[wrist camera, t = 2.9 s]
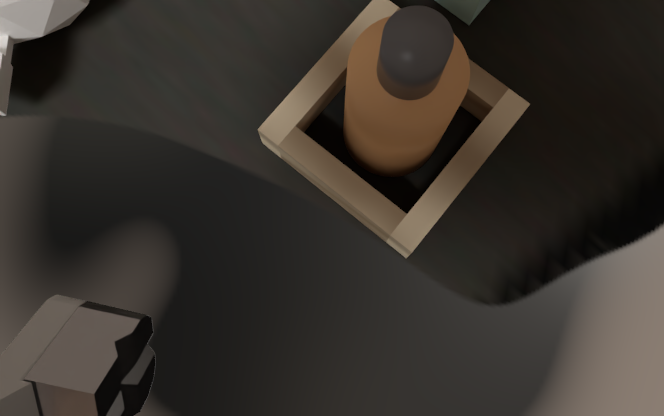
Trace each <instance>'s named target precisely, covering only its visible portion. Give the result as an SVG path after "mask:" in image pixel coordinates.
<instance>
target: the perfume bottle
mask: <svg viewBox="0 0 664 416" xmlns="http://www.w3.org/2000/svg"><path fill="white" fill-rule="evenodd" d="M89 1H90V0H0V115H4V116H6V113H7V106H8V99H9V92H10V85H11V78H12V71H13V66H12V65H11V58H12V51H13V44H16V43H20V42H24V41H28V40H31V39H35V38H39V37H43V36H45V35H47V34H50V33H52V32H54V31H57V30H59V29H61V28H64V27H66V26H69V25H70V24H71V23H72V22H73V21H74V20H75V19H76V18H77V16H78V15H79V14H80V13H81V12H82V11H83V10H84V9H85V8H86V6H87V5H88V3H89Z"/></svg>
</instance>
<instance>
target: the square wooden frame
mask: <svg viewBox="0 0 664 416" xmlns="http://www.w3.org/2000/svg"><path fill="white" fill-rule="evenodd" d="M400 9H401V8H399V7H398V6H397V5H395V4H394V3H392V2H391V1H390V0H372V1H371V2H370V3H369V5H368V6H367V7H366V8H365V9H364V10H363V11H362V12H361V14H360V15H359V16H358V17H357V18H356V19H355V20H354V21H353V23H352V24H351V25H350V26H349V27H348V28H347V29H346V30H345V32H344V33H343V34H342V35H341V36H340V37H339V38H338V39H337V41H336V42H335V43H334V44H333V45H332V46H331V47H330V48H329V50H328V51H327V52H326V53H325V54H324V55H323V56H322V57H321V59H320V60H319V61H318V62H317V63H316V64H315V65H314V66H313V68H312V69H311V70H310V71H309V72H308V73H307V74H306V75H305V77H304V78H303V79H302V80H301V81H300V82H299V83H298V85H297V86H296V87H295V88H294V89H293V90H292V91H291V92H290V94H289V95H288V96H287V97H286V98H285V99H284V100H283V101H282V103H281V104H280V105H279V106H278V107H277V108H276V109H275V110H274V112H273V113H272V114H271V115H270V116H269V117H268V118H267V119H266V121H265V122H264V123H263V124H262V125H261V126H260V127H259V128H258V132H259V135H260V138H261V141H262V143H263V144H264V145H265V146H267V147H268V148H269V149H270V150H272V151H273V152H274V153H275V154H277V155H278V156H279V157H280V158H282V159H283V160H284V161H285V162H287V163H288V164H289V165H290V166H292V167H293V168H294V169H295V170H297V171H298V172H299V173H300V174H302V175H303V176H304V177H305V178H307V179H308V180H309V181H310V182H312V183H313V184H314V185H315V186H317V187H318V188H319V189H320V190H322V191H323V192H324V193H325V194H327V195H328V196H329V197H330V198H332V199H333V200H334V201H335V202H337V203H338V204H339V205H340V206H342V207H343V208H344V209H345V210H347V211H348V212H349V213H350V214H352V215H353V216H354V217H355V218H357V219H358V220H359V221H360V222H362V223H363V224H364V225H365V226H367V227H368V228H369V229H370V230H372V231H373V232H374V233H375V234H377V235H378V236H379V237H380V238H382V239H383V240H384V241H385V242H387V243H388V244H389V245H390V246H392V247H393V248H394V249H395V250H397V251H398V252H399V253H400V254H402V255H403V256H404V257H405V258H407V257H408V256H409V255H410V254H411V253H412V252H413V251H414V249H415V248H416V247H417V246H418V244H419V243H420V242H421V241H422V239H423V238H424V237H425V236H426V234H427V233H428V232H429V231H430V229H431V228H432V227H433V226H434V224H435V223H436V222H437V221H438V219H439V218H440V217H441V216H442V214H443V213H444V212H445V211H446V209H447V208H448V207H449V206H450V204H451V203H452V202H453V201H454V199H455V198H456V197H457V196H458V194H459V193H460V192H461V190H462V189H463V188H464V187H465V185H466V184H467V183H468V182H469V180H470V179H471V178H472V177H473V175H474V174H475V173H476V172H477V170H478V169H479V168H480V167H481V165H482V164H483V163H484V162H485V160H486V159H487V158H488V157H489V155H490V154H491V153H492V152H493V150H494V149H495V148H496V147H497V145H498V144H499V143H500V142H501V140H502V139H503V138H504V137H505V135H506V134H507V133H508V132H509V130H510V129H511V128H512V127H513V125H514V124H515V123H516V122H517V120H518V119H519V118H520V117H521V115H522V114H523V113H524V112H525V110H526V109H527V108H528V107H529V105H530V103H528V102H527V101H526V100H524V99H523V98H521V97H520V96H519V95H517V94H516V93H515V92H513V91H512V90H511V89H509V88H508V87H507V86H505V85H504V84H502V83H501V82H500V81H498V80H497V79H496V78H494V77H493V76H492V75H490V74H489V73H488V72H486V71H485V70H483V69H482V68H481V67H479V66H478V65H477V64H475V63H474V62H473V61H471V60H470V59H468V60H469V64H470V81H469V86H468V89H467V92H466V95H465V97H464V99H463V100H462V102H461V104H460V106H461V107H463V108H464V109H465V110H467V111H468V112H469V113H471V114H472V115H473V116H475V117H476V118H477V119H479V120H480V121H481V124H480V125H479V126H478V127H477V129H476V130H475V131H474V132H473V134H472V135H471V136H470V137H469V138H468V140H467V141H466V142H465V143H464V145H463V146H462V147H461V148H460V150H459V151H458V152H457V153H456V155H455V156H454V157H453V158H452V159H451V161H450V162H449V163H448V164H447V166H446V167H445V168H444V169H443V171H442V172H441V173H440V174H439V176H438V177H437V178H436V179H435V180H434V182H433V183H432V184H431V185H430V187H429V188H428V189H427V190H426V192H425V193H424V194H423V195H422V196H421V198H420V199H419V200H418V201H417V203H416V204H415V205H414V206H413V208H412V209H411V210H410V211H409V213H408V214H406V213H405V212H404V211H402V210H401V209H400V208H399V207H397V206H396V205H395V204H394V203H392V202H391V201H390V200H388V199H387V198H386V197H385V196H383V195H382V194H381V193H380V192H378V191H377V190H376V189H375V188H373V187H372V186H371V185H369V184H368V183H367V182H366V181H364V180H363V179H362V178H361V177H359V176H358V175H357V174H356V173H354V172H353V171H352V170H350V169H349V168H348V167H347V166H345V165H344V164H343V163H342V162H340V161H339V160H338V159H336V158H335V157H334V156H333V155H331V154H330V153H329V152H328V151H326V150H325V149H324V148H323V147H321V146H320V145H319V144H317V143H316V142H315V141H314V140H312V139H311V138H310V137H309V136H307V135H306V134H305V133H304V132H305V131H306V129H307V128H308V127H309V126H310V125H311V124H312V123H313V121H314V120H315V119H316V118H317V117H318V116H319V114H320V113H321V112H322V111H323V110H324V109H325V108H326V106H327V105H328V104H329V103H330V102H331V101H332V100H333V98H334V97H335V96H336V95H337V94H338V93H339V92H340V90H341V89H342V88H343V87H344V86H345V85H346V77H347V64H348V58H349V54H350V51H351V49H352V46H353V44H354V43H355V41H356V39H357V38H358V37H359V36H360V34H361V33H362V32H363V31H364V30H365V29H366V28H368V27H369V26H370V25H372V24H373V23H375V22H377V21H378V20H381V19H383V18H385V17H389V16H392V15H393V14H394V13H395V12H396V11H398V10H400Z"/></svg>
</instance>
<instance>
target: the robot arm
mask: <svg viewBox="0 0 664 416" xmlns="http://www.w3.org/2000/svg"><path fill="white" fill-rule="evenodd" d="M152 334H153V325H152V318H151V317H150V316H148V315H145V314H140V313H136V312H132V311H128V310H123V309H119V308H115V307H110V306H106V305H101V304H98V303H93V302H88V301H83V300H78V299H73V298H70V297H65V296H60V295H55V296H53V297H51V298H50V299H48V300H46V301H45V303H44V304H43V305H42V306H41V307H40V309H39V310H38V311H37V312H36V313H35V315H34V316H33V317H32V318H31V319H30V321H29V322H28V323H27V324H26V325H25V327H24V328H23V329H22V330H21V331H20V332H19V334H18V335H17V336H16V337H15V338H14V340H13V341H12V342H11V343H10V345H9V346H8V347H7V348H6V349H5V350H4V352H3V353H2V354H1V355H0V416H134V415H136V414H137V413H139V412H140V411H141V409H142V407H143V405H144V403H145V401H146V399H147V397H148V395H149V391H150V388H151V385H152V382H153V379H154V372H155V353H154V351H153V350H152V349H151V348H150V346H149V345H148V344H147V343H148V342H149V340H150V338H151V336H152Z"/></svg>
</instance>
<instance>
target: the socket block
mask: <svg viewBox="0 0 664 416" xmlns="http://www.w3.org/2000/svg"><path fill="white" fill-rule="evenodd" d="M435 1H436V2H437V3H439V4H440V5H441V6H443V7H444V8H446V9H447V10H448V11H450V12H451V13H452V14H454V15H455V16H457V17H458V18H459V19H461V20H462V21H463V22H465V23H466V24H468V25H470V24H471V22H472V21H473V20H474V19H475V18H476V17H477V15H478V14H479V13H480V12H481V11H482V9H483V8H484V7H485V6H486V5H487V4H488V2H489V1H490V0H435Z"/></svg>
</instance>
